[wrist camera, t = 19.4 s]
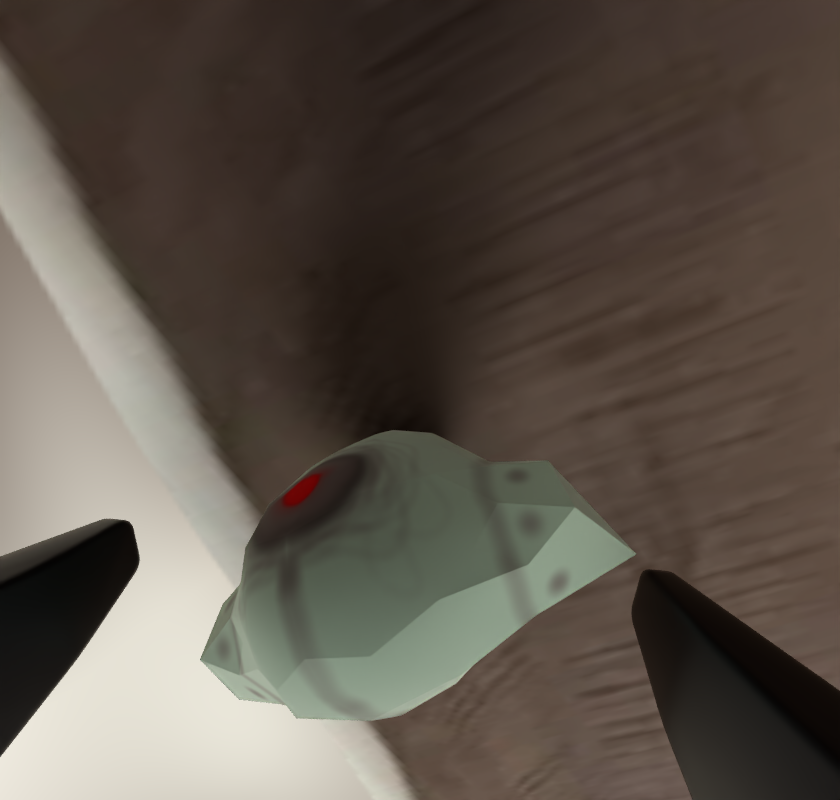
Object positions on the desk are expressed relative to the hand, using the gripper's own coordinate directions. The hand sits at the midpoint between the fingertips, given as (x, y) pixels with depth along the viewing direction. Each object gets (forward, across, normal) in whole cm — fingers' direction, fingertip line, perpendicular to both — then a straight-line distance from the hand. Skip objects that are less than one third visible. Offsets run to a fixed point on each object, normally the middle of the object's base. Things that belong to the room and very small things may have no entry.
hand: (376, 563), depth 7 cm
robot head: (+5, 0, 0) cm, 5 cm away
